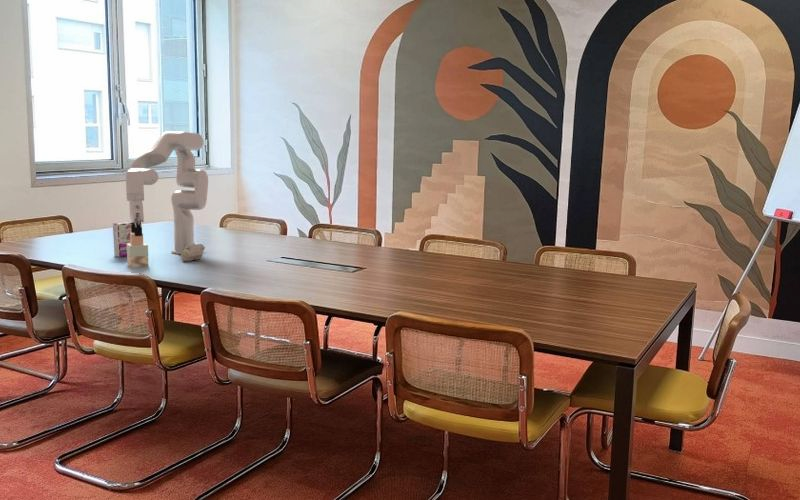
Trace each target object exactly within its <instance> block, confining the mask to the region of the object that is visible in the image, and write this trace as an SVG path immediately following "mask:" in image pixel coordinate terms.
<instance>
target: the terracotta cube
mask: <svg viewBox="0 0 800 500" xmlns="http://www.w3.org/2000/svg"><path fill="white" fill-rule="evenodd" d="M143 243H144V234H143V232H142V236H135V233H130V244H131V245H143Z"/></svg>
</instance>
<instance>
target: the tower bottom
mask: <svg viewBox="0 0 800 500" xmlns="http://www.w3.org/2000/svg"><path fill="white" fill-rule="evenodd" d="M126 259H127V262H126V264H127V266H128V267H129V268H131V269H132V268H142V266H148V267H149V255H148V256H138V257H130V256H128V255H127V256H126Z"/></svg>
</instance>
